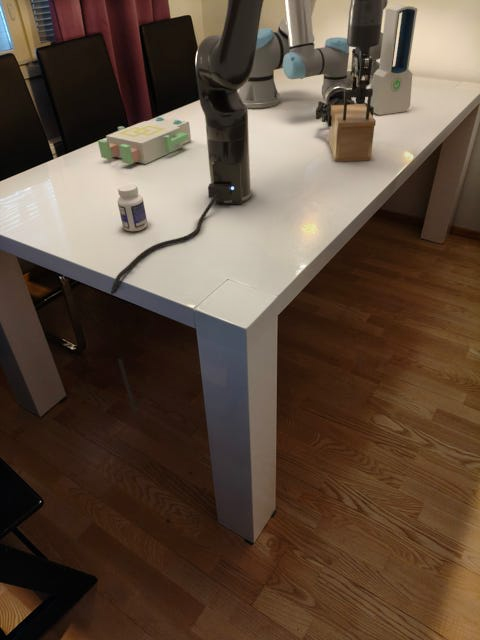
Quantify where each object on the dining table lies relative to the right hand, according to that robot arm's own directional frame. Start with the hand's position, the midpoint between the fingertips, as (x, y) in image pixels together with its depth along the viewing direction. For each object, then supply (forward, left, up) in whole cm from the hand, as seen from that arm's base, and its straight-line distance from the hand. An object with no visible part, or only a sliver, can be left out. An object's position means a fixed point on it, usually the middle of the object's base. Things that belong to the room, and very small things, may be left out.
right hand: (348, 120), depth 136 cm
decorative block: (-26, -52, -7) cm, 58 cm away
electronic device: (-22, +30, -7) cm, 38 cm away
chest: (+4, -2, -7) cm, 8 cm away
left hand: (+10, -5, +8) cm, 14 cm away
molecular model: (-58, +47, -7) cm, 75 cm away
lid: (+5, -2, +2) cm, 6 cm away
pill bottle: (+21, -67, -7) cm, 70 cm away
